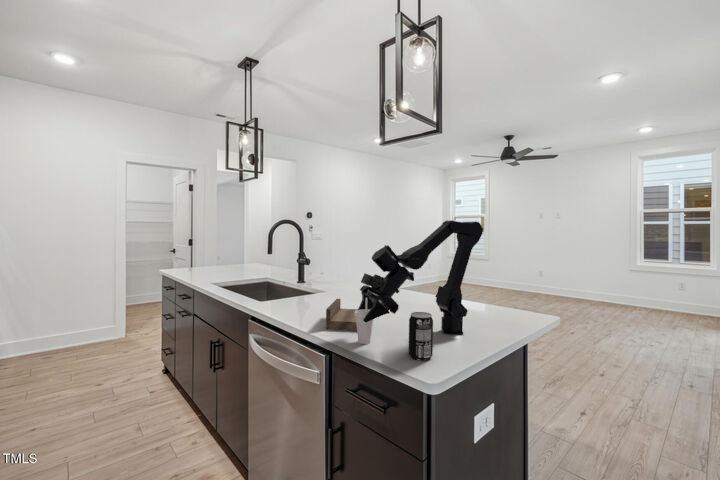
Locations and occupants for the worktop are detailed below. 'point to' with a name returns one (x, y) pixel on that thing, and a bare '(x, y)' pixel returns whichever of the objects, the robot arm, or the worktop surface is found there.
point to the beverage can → (420, 336)
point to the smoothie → (363, 326)
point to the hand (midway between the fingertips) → (360, 318)
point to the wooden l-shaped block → (340, 317)
